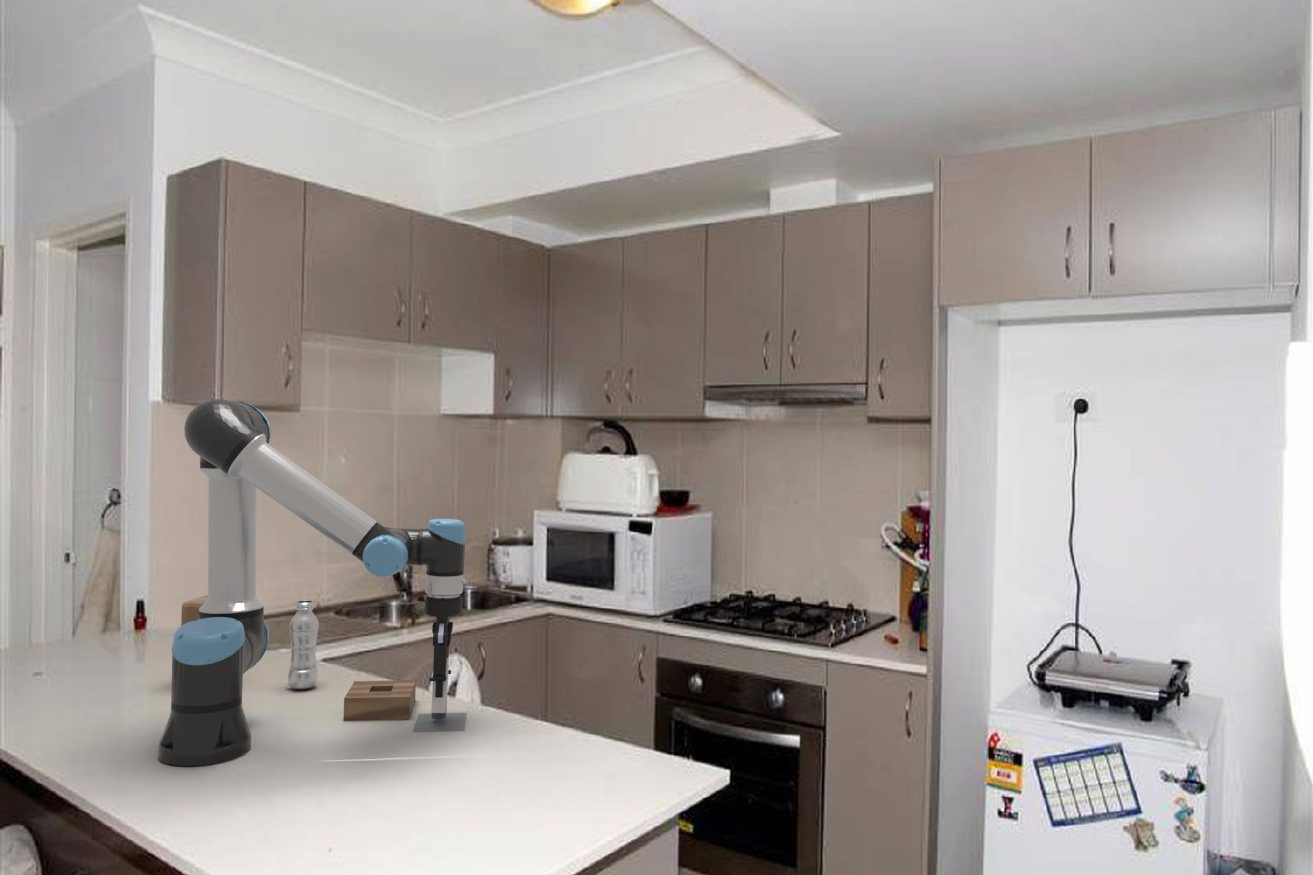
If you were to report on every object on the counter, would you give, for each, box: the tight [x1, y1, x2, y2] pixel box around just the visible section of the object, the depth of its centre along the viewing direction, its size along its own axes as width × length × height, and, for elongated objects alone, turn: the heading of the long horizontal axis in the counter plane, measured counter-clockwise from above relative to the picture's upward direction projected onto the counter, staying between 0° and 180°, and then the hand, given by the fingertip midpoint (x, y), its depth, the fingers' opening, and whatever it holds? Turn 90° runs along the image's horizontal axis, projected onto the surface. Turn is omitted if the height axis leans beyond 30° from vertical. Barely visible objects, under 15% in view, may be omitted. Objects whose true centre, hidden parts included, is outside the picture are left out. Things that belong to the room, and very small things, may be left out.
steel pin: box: [430, 657, 450, 719], centre depth 183 cm, size 3×3×12 cm
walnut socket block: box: [343, 679, 417, 722], centre depth 190 cm, size 13×13×5 cm
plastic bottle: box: [287, 599, 320, 690], centre depth 206 cm, size 6×7×20 cm
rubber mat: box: [412, 712, 468, 733], centre depth 183 cm, size 12×10×1 cm
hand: (439, 709), depth 183 cm, fingers closed on steel pin, 3 cm apart
